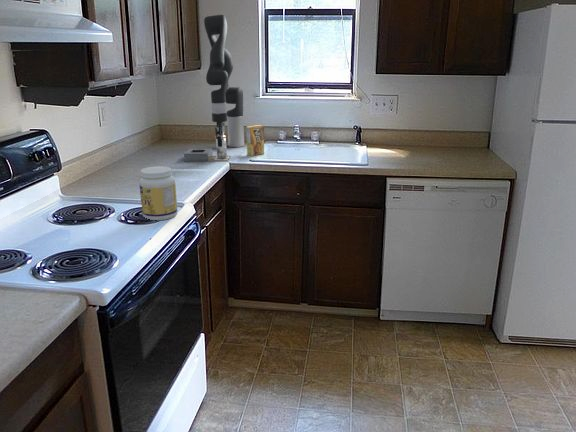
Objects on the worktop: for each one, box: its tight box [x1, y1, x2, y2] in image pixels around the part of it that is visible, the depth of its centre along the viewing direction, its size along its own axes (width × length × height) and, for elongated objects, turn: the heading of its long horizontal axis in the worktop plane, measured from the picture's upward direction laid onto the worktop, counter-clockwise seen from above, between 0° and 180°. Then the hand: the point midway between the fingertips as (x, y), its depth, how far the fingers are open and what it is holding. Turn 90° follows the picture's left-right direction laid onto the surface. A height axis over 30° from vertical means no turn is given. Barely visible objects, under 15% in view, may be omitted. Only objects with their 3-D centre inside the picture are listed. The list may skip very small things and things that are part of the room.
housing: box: [183, 148, 213, 161], centre depth 267 cm, size 12×12×4 cm
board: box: [183, 155, 232, 163], centre depth 267 cm, size 13×22×1 cm, turn 87°
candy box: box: [245, 124, 265, 157], centre depth 277 cm, size 9×4×15 cm, turn 129°
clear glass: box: [214, 134, 228, 159], centre depth 265 cm, size 5×5×11 cm
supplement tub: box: [138, 165, 179, 221], centre depth 182 cm, size 12×12×17 cm
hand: (221, 145), depth 264 cm, fingers open, 5 cm apart
